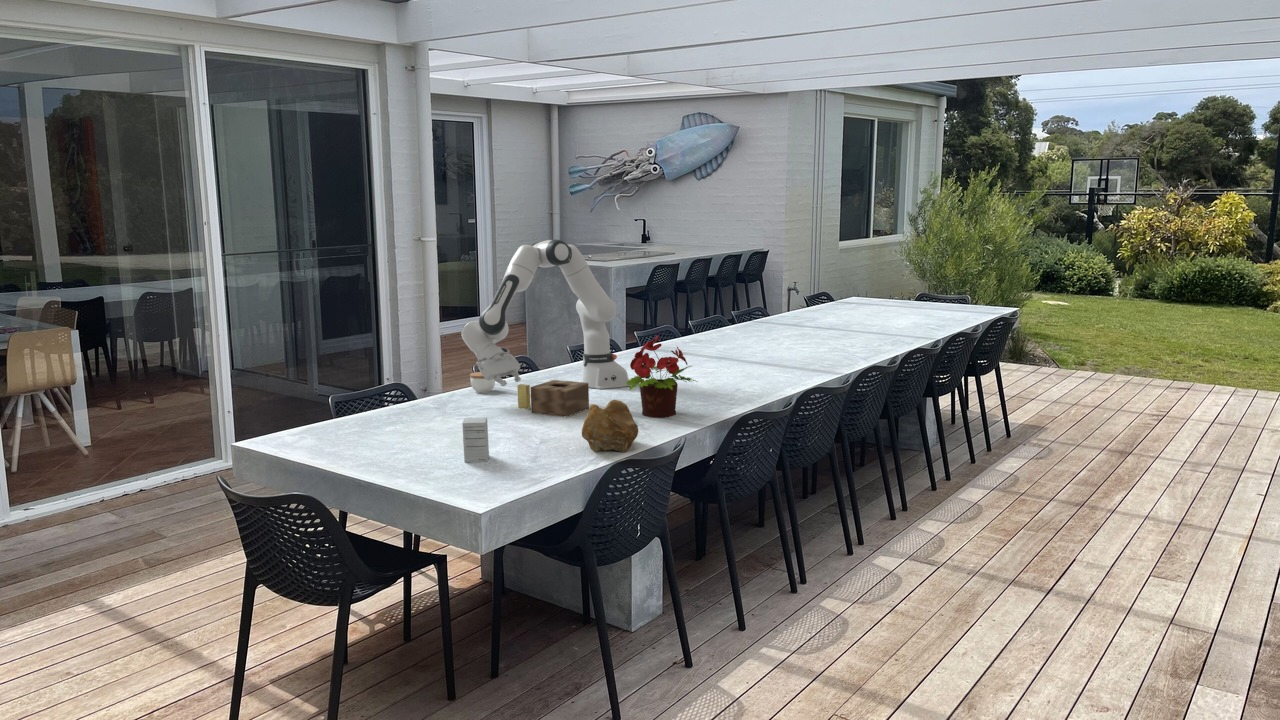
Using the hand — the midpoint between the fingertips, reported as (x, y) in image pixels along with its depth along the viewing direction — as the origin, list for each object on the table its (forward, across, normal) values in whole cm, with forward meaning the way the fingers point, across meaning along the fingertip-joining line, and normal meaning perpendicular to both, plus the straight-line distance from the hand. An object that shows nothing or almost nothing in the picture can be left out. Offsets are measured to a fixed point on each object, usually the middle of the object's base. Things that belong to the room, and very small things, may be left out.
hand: (512, 383), depth 372 cm
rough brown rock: (+54, -39, -41) cm, 78 cm away
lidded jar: (-14, +20, +27) cm, 36 cm away
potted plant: (+48, +9, -35) cm, 60 cm away
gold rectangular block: (+10, 0, +3) cm, 11 cm away
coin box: (+22, +1, -8) cm, 23 cm away
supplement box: (+31, -68, -17) cm, 77 cm away
